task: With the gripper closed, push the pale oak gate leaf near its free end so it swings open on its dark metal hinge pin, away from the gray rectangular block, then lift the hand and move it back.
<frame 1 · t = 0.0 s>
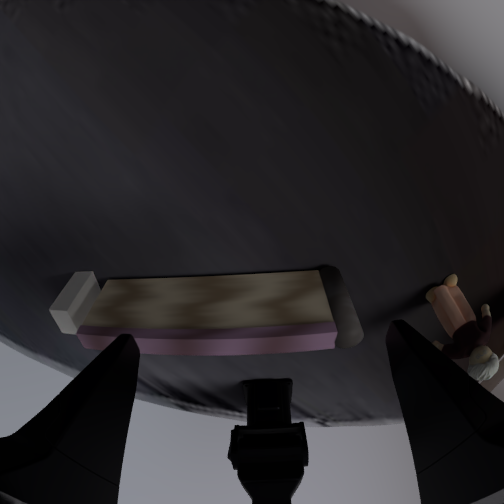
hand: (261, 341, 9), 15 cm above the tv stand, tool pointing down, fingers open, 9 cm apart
grandmother figurine: (437, 290, 28), on the tv stand
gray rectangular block: (88, 283, 27), on the tv stand
gate: (213, 311, 22), point 4 cm above the tv stand, hinge at 0.0°
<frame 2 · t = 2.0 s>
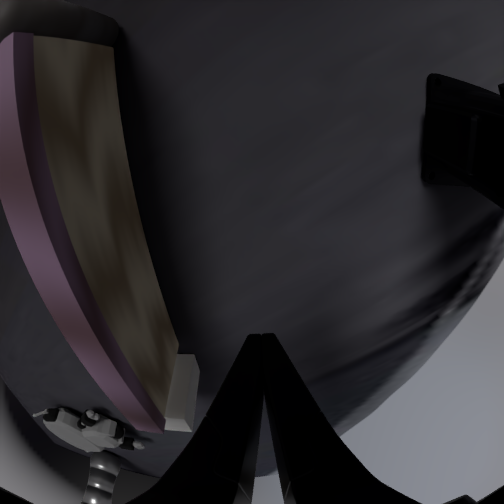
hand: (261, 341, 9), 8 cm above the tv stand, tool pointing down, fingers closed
robot toy: (91, 417, 32), on the tv stand
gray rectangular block: (180, 362, 23), on the tv stand
gate: (96, 243, 12), point 4 cm above the tv stand, hinge at 0.0°
plastic bottle: (107, 452, 42), on the tv stand
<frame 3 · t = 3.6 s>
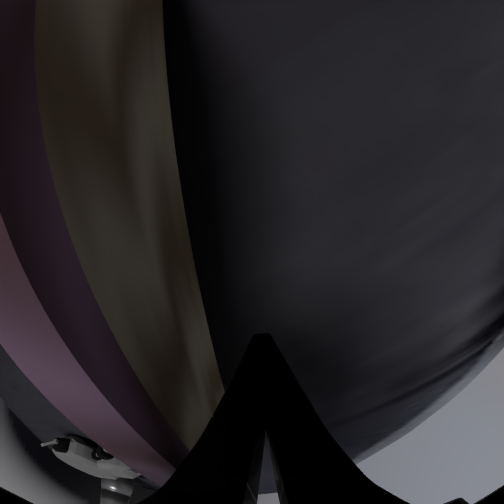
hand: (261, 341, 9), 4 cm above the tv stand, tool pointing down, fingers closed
robot toy: (105, 445, 29), on the tv stand
gate: (142, 309, 8), point 4 cm above the tv stand, hinge at 0.3°, touching gripper
plastic bottle: (119, 472, 39), on the tv stand
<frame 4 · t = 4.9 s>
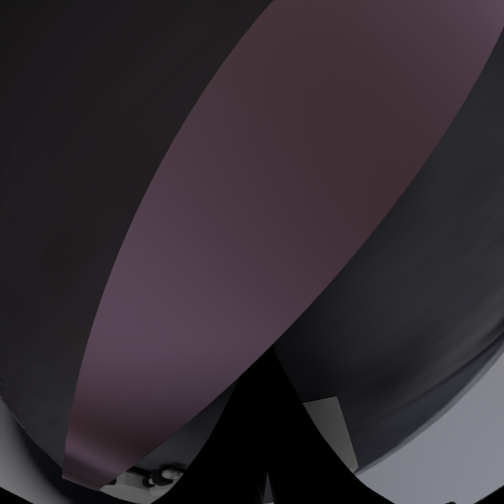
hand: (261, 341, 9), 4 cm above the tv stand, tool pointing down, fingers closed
robot toy: (152, 470, 27), on the tv stand
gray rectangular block: (315, 407, 19), on the tv stand
gate: (162, 273, 7), point 4 cm above the tv stand, hinge at 37.7°, touching gripper
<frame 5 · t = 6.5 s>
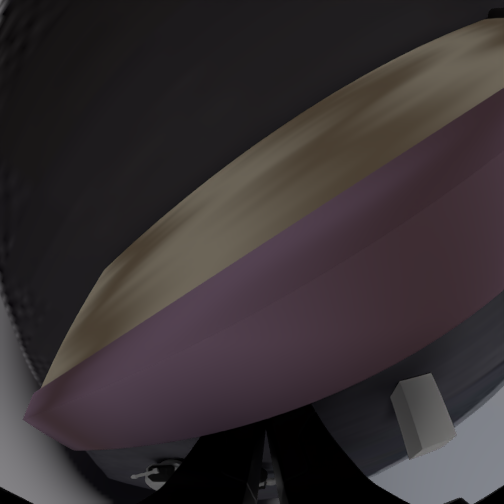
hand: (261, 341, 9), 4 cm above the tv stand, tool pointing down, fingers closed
robot toy: (208, 463, 28), on the tv stand
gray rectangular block: (410, 385, 18), on the tv stand
gate: (397, 131, 5), point 4 cm above the tv stand, hinge at 56.8°, touching gripper
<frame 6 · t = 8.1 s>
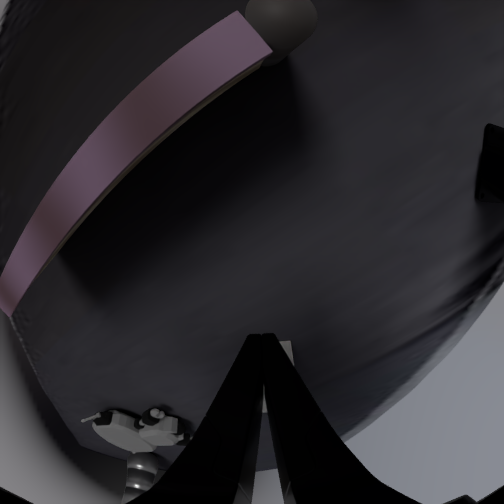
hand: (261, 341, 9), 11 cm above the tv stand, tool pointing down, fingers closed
robot toy: (144, 416, 35), on the tv stand
gate: (105, 170, 12), point 4 cm above the tv stand, hinge at 56.9°
plastic bottle: (144, 451, 45), on the tv stand
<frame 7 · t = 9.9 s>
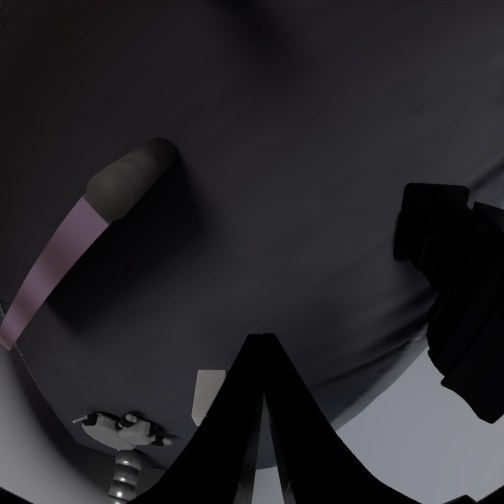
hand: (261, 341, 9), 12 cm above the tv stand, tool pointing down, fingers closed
robot toy: (125, 419, 40), on the tv stand
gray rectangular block: (213, 375, 30), on the tv stand
gate: (56, 263, 17), point 4 cm above the tv stand, hinge at 56.9°
plastic bottle: (131, 449, 50), on the tv stand
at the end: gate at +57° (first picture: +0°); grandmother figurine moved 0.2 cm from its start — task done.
